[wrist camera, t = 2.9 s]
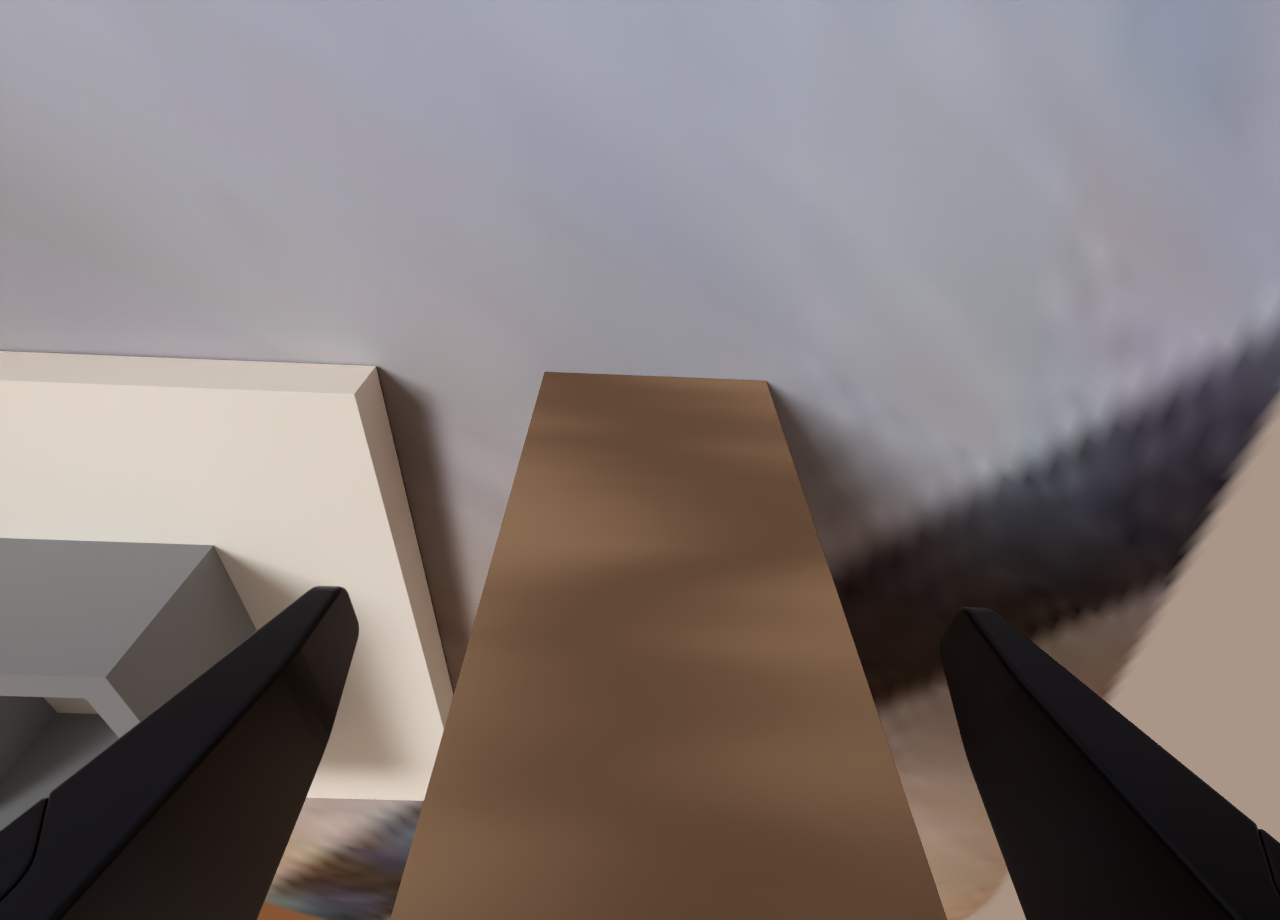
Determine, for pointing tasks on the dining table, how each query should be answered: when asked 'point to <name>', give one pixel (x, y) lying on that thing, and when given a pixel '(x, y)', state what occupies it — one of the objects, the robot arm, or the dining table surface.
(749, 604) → the wooden peg
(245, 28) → the dining table surface
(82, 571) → the thin cream square plate
